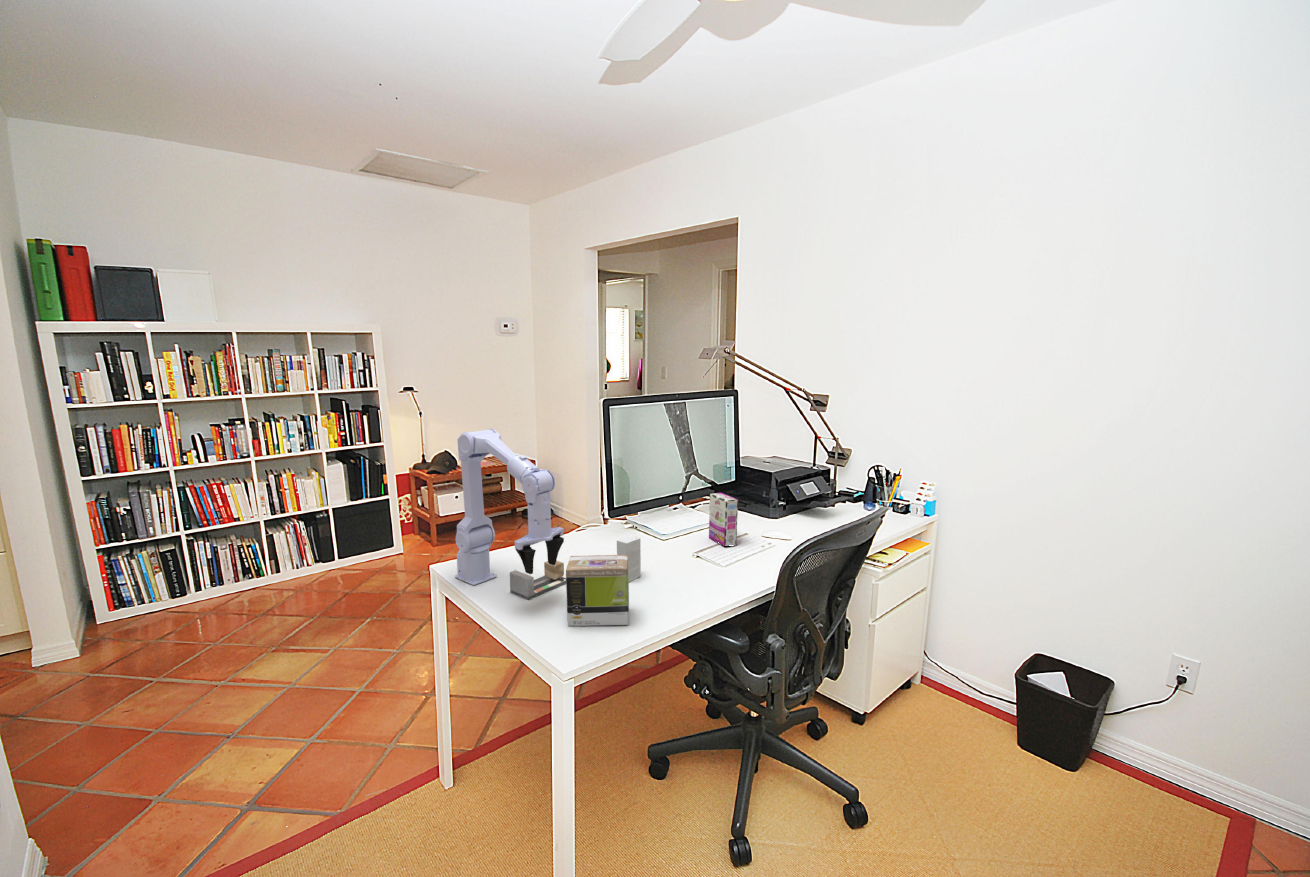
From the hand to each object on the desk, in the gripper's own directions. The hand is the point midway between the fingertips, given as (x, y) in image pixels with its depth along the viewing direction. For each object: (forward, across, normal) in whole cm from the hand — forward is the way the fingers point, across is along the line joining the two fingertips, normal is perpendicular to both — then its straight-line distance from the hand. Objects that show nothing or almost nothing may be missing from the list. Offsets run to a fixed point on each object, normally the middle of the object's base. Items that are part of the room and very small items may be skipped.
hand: (540, 568), depth 147 cm
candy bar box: (+10, +72, -11) cm, 73 cm away
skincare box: (+10, +28, -6) cm, 30 cm away
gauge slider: (+9, +12, +8) cm, 17 cm away
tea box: (+10, +5, -16) cm, 20 cm away
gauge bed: (+10, +7, +9) cm, 15 cm away
